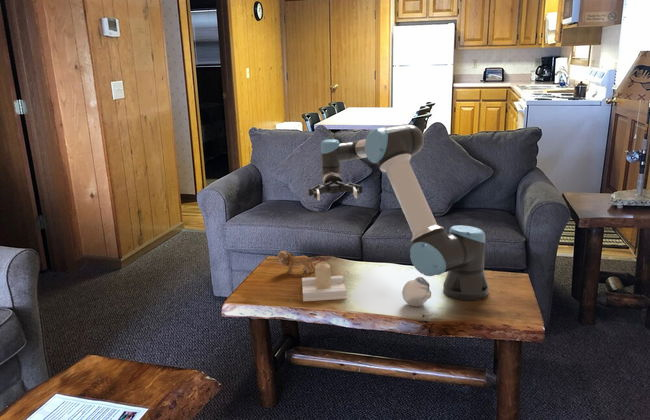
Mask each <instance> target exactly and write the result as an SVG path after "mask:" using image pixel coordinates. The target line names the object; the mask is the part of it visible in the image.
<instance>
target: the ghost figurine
mask: <svg viewBox="0 0 650 420" xmlns="http://www.w3.org/2000/svg"><path fill="white" fill-rule="evenodd" d="M401 296H402V298H403V300H404V302H405V303H406V304H407V305H409V306H411V307H421V306H423V305H424V304H426V303H427V301H428V300H430V299H431V298H432V292H431V290H430V283H429V282H428V281H427V280H426V279H425V278H424V277H422V276H417V277H416V278H413V279H410V280H408V281H406V282H405V283H404V285H403V287H402V291H401Z"/></svg>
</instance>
